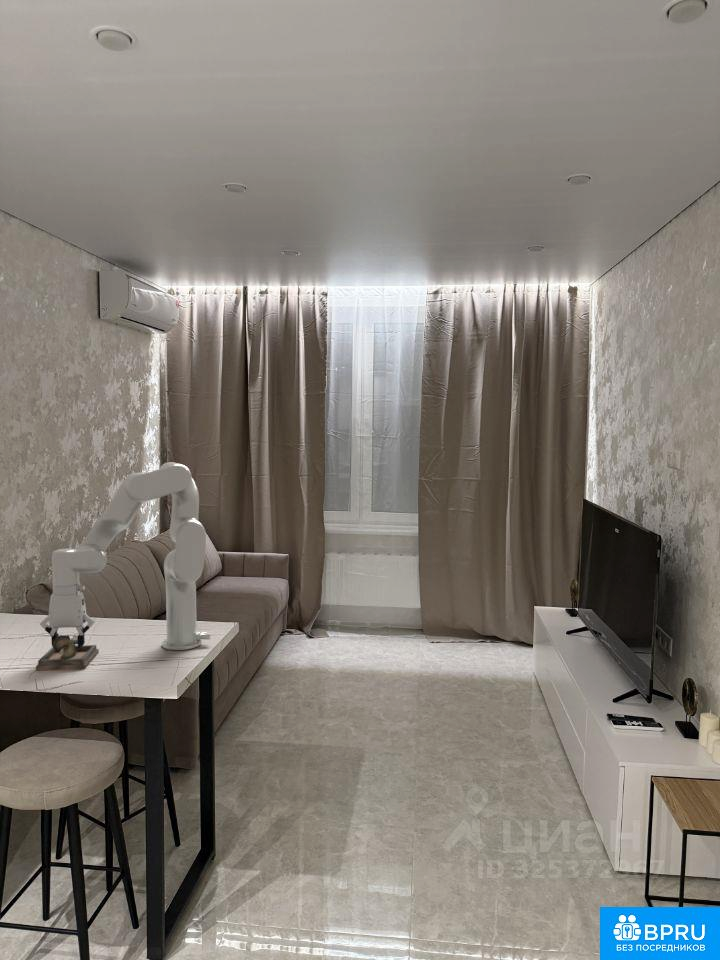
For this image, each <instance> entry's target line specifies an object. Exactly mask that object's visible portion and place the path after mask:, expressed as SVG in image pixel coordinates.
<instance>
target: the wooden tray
mask: <svg viewBox="0 0 720 960" xmlns="http://www.w3.org/2000/svg"><path fill="white" fill-rule="evenodd" d="M76 646H77V648H78V644H76ZM62 648H63V647H61V648H56V649H53V646H52V647H51V648H50V649H49V650H48V651H47V652H46V653H45V654H44V655H43V656H41V658H39V659H38V660H37V665H36V666H35V671H58V670H60V671H62V670H86V669H87V668H88V666H89V665H90V664H91V663H92V661H94V659H95V658H96V657H97V656H98V654H99V652H100V651H99V648H97V644H88V645H87V644H84V645H83V646H82V647H81V648H80V649H79V648H78V650H77V653H76V655H75V656H74V657H73V658H69V659H66V660H62V659H61V658H60V657H61V656H62V655H63V653H64V652H65V651H64V652H63V653H62V654H60V651H61V650H62ZM59 654H60V655H59ZM90 662H91V663H90Z"/></svg>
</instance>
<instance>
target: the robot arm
mask: <svg viewBox="0 0 720 960" xmlns="http://www.w3.org/2000/svg"><path fill="white" fill-rule="evenodd" d="M169 495H170V496H171V518H170V525H169V538H170V539H171V540H172V542H173V543H174V544H175V546H174V549H172V550H171V551H169V553H167V555H166V557H165V558H164V562H163V571H164V572H163V574H164V579H165V580H164V581H165V603H166V604H165V607H166V608H165V609H166V610H165V611H166V639H164V640H163V641H162V643H161V647H162V648H163V649H166V650H170V651H186V650H190V649H195V648H198V647H199V646H201V645H202V643H203V640H204V641H205V640H211V633H208V632H206V631H205V632H201V631H199V630H200V629H199V627H198V628H197V584H196V582H197V581H198V580H199V579H200V577H201V576H202V573H203V571H204V565H205V557H206V556H205V555H206V546H207V543H206V542H207V534H206V533H207V532H206V529H205V527H204V526H203V524H202V523H201V522H200V521H199V512H200V511H199V510H200V494H199V489H198V486H197V484H196V481H195V480H194V478H193V477H192V473H191V471H190V468H189V467H188V466H186V465H184V464H182V463H177V462H174V461H169V462H164V463H162V465H161V466H160V467H159V469H156V470H152V471H148V472H144V473H141V472H132V473H130V474H128V475H127V476H126V477H125V478H124V479H123V481H122V482H121V484H120V486H119V488H118V489H117V491H116V492H115V494H114V495H113V497H112V498H111V501H110V502H109V503H108V506H107V507H106V509H104V511H103V513H102V514H101V515H100V516H99V519H97V521H96V522H95V523H94V525H93V526H92V527H91V528H90V530H89V531H88V533H87V535H86V536H85V538H84V539H83V541H82V543H81V544H80V546H79V548H78V550H77V549H76V548H69V547H68V548H67V547H66V548H59V549H55V550H54V551H53V552H52V554H51V568H52V569H51V570H52V574H51V575H52V594H50V597H49V598H50V600H49V606H48V615H47V616H46V617H45V618H44V619H43V620H42V621H41V622H40V623H39V625H40V627H41V628H43V629H44V630H45V632H47V634H49V636H50V637H51V646H52V645H53V642H54V640H55V639H56V638H57V637H59V636H60V635H59V633H58V630H59V629H60V628H65V629H66V628H75V629H76V631H77V634H78V637H77V638H78V644H77V645H78V648H79V649H80V648H81V647H82V646H83V645H85V643H86V641H85V633H86V632H87V631H89V629H90V628H91V627H92V626H93V625H94V624H95V622H96V621H95V620H94V619H93V618H92V617H90V615H88V614H87V607H86V602H85V597H84V592H81V591H84V590H85V589H86V587H85V585H81V581H80V573H88V574H90V573H91V574H92V573H95V574H96V573H99V572H101V571H102V570H103V569H104V568H106V565H107V562H108V558H107V555H106V550H107V549H108V548H109V546H110V544H111V543H112V542H113V540H114V539H115V537H116V536H117V535H118V534H120V533H121V532H123V531H125V529H127V528H128V527H129V526H130V525H131V523H132V522H133V520H134V519H135V517H136V515H137V513H138V512H139V510H140V508H141V507H142V504H143V503H144V502H149V501H152V500H157V499H160V498H163V497H165V496H169ZM85 623H87V624H86V626H84V624H85ZM53 649H54V648H53ZM55 649H56V648H55Z"/></svg>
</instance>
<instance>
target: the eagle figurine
mask: <svg viewBox="0 0 720 960" xmlns="http://www.w3.org/2000/svg"><path fill="white" fill-rule="evenodd" d="M78 635H79V634H78ZM78 635H77V634H73V636H72V638H71V637H70V635H69V634H68V635H63V634H62V635H59V637H57V638H56V639H55V640H54V642H53V645H52V644H51V646H52V647H53V648H54V649H55V648H61V647H63V648H62V650H61V651H60V654H62V653H63V652H64V651H65V652H64V653H63V655H62V656H61V657H60V658H61V659H62V660H66V659H69V658H73V657H74V656H75V655H76V653H77V650H78V648H77V645H78V638H77V637H78ZM60 654H59V655H60Z"/></svg>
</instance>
